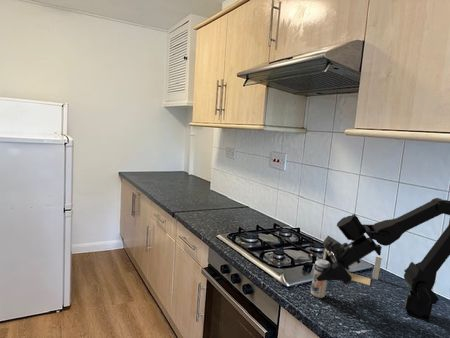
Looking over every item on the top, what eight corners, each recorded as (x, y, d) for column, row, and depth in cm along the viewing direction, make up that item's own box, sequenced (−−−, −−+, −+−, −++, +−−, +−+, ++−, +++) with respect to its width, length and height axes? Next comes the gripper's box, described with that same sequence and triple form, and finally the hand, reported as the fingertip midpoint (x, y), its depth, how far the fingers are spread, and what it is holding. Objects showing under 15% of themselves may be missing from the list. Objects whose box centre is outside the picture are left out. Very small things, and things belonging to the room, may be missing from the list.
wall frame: (377, 278, 123) (381, 256, 121) (377, 280, 121) (381, 258, 120) (322, 262, 132) (326, 242, 130) (322, 264, 130) (325, 243, 129)
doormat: (370, 279, 121) (370, 278, 121) (369, 286, 116) (370, 285, 116) (345, 272, 125) (346, 271, 125) (344, 278, 120) (344, 277, 120)
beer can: (307, 291, 107) (312, 259, 105) (318, 290, 109) (323, 257, 107) (316, 299, 103) (322, 265, 101) (328, 297, 105) (333, 264, 103)
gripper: (335, 222, 111) (299, 246, 114) (346, 241, 93) (303, 269, 96) (355, 246, 111) (318, 270, 114) (370, 271, 93) (325, 298, 96)
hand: (316, 275), depth 105 cm, fingers closed on beer can, 5 cm apart
